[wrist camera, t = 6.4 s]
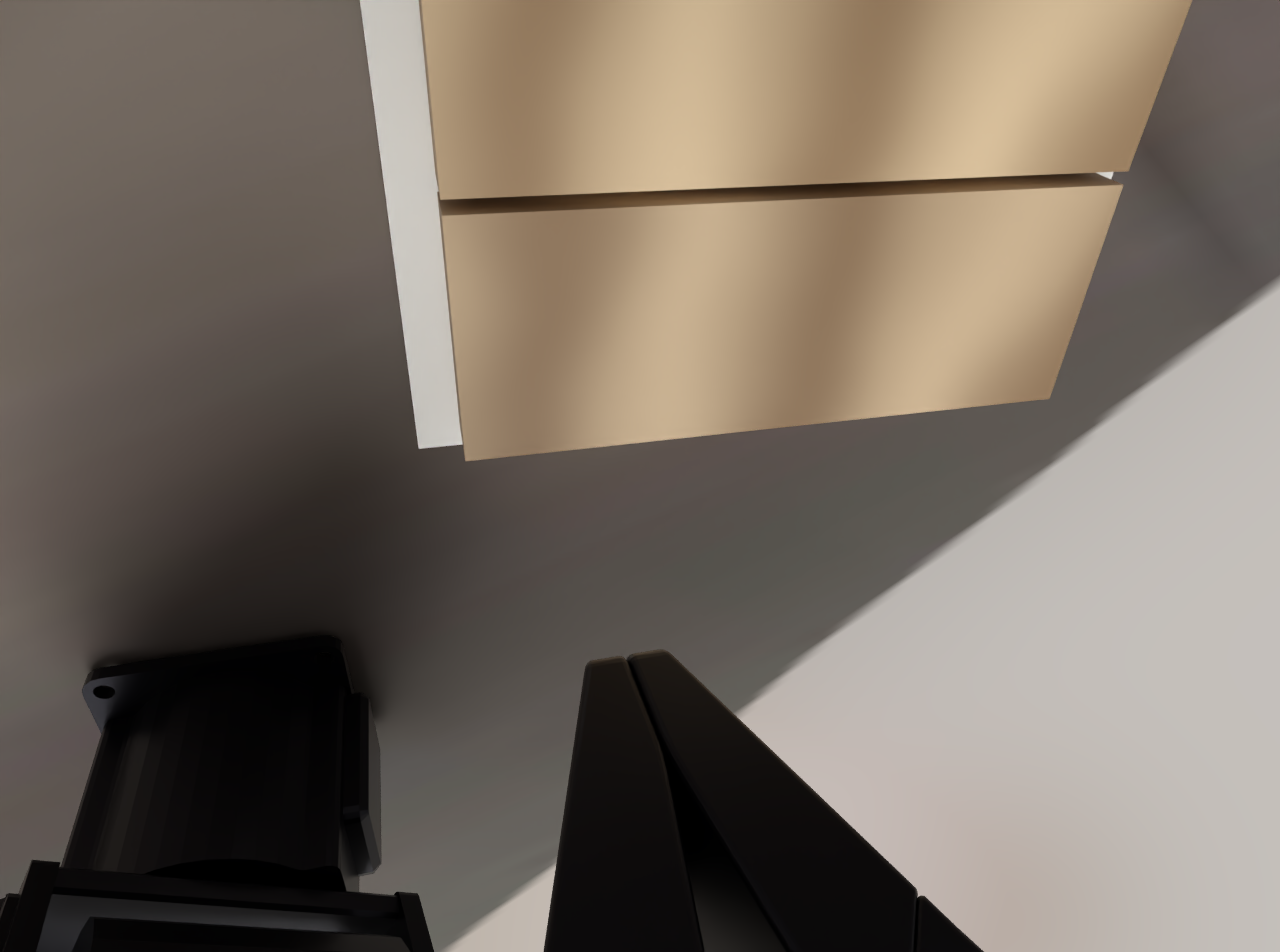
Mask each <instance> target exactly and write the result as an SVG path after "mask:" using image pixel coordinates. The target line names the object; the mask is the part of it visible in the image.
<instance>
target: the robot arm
mask: <svg viewBox="0 0 1280 952" xmlns="http://www.w3.org/2000/svg"><path fill="white" fill-rule="evenodd" d="M322 652H328V653H331V654H328V655H321V654H319V653H322ZM100 685H107V686H110V687H103V686H100ZM82 693H83V697H84V699H85V701H86V703H87V705H88V707H89V709H90V711H91V713H92V715H93V717H94V719H95V721H96V723H97V725H98V728H99V730H100V732H101V738H100V741H99V744H98V747H97V751H96V754H95V757H94V760H93V764H92V767H91V770H90V774H89V777H88V780H87V783H86V787H85V790H84V793H83V796H82V800H81V803H80V806H79V809H78V813H77V816H76V819H75V822H74V826H73V829H72V832H71V836H70V839H69V842H68V845H67V849H66V852H65V855H64V858H63V862H62V865H61V867H59V866H60V862H51V861H40V860H32V861H31V863H30V866H29V868H28V871H27V873H26V876H25V878H24V881H23V883H22V886H21V888H20V890H19V893H18V894H11V893H8V894H6V897H5V898H3V899H0V952H434V950H433V946H432V942H431V939H430V935H429V931H428V928H427V924H426V920H425V917H424V913H423V909H422V906H421V902H420V898H419V895H418V894H417V893H406V892H396V893H395V894H394V895H385V894H373V893H361V892H359V876H364V875H369V874H373V873H375V871H376V870H377V869H378V867H379V866H380V865H381V783H380V747H379V743H378V738H377V733H376V728H375V724H374V719H373V714H372V709H371V705H370V700H369V698H368V697H367V696H366V695H364V694H363V693H362V692H359V693H354V690H353V686H352V681H351V677H350V672H349V668H348V663H347V659H346V655H345V650H344V646H343V644H342V642H341V641H340V640H339V639H338V638H336V637H333V636H315V637H309V638H302V639H295V640H288V641H281V642H274V643H267V644H261V645H254V646H247V647H240V648H233V649H226V650H219V651H213V652H206V653H199V654H192V655H185V656H178V657H171V658H165V659H158V660H151V661H144V662H137V663H130V664H123V665H117V666H110V667H103V668H99V669H95V670H93V671H92V672H90V673H89V674H88V676H87V678H86V680H85V683H84V686H83V689H82ZM917 896H918V893H917V889H916V888H915V887H914V886H913V885H912V884H911V883H910V882H909V881H908V880H907V879H906V878H905V877H904V876H903V875H902V874H901V873H900V872H898V871H897V870H896V869H895V868H894V867H893V866H892V865H891V864H890V863H889V862H888V861H887V860H886V859H885V858H884V857H883V856H882V855H881V854H880V853H878V851H877V850H875V849H874V848H873V847H872V846H871V845H870V844H869V843H868V842H867V841H866V840H865V839H864V838H863V837H862V836H861V835H860V834H859V833H858V832H856V830H855V829H853V828H852V827H851V826H850V825H849V824H848V823H847V822H846V821H845V820H844V819H843V818H842V817H841V816H840V815H839V814H838V813H837V812H836V811H835V810H834V809H833V808H831V807H830V806H829V805H828V804H827V803H826V802H825V801H824V800H823V799H822V798H821V797H820V796H819V795H818V794H817V793H816V792H815V791H814V790H813V789H812V788H811V787H810V786H809V785H808V784H806V783H805V782H804V781H803V780H802V779H801V778H800V777H799V776H798V775H797V774H796V773H795V772H794V771H793V770H792V769H791V768H790V767H789V766H788V765H787V764H785V763H784V762H783V761H782V760H781V759H780V758H779V757H778V756H777V755H776V754H775V753H774V752H773V751H772V750H771V749H770V748H769V747H768V746H767V745H766V744H765V743H764V742H763V741H761V740H760V739H759V738H758V737H757V736H756V735H755V734H754V733H753V732H752V731H751V730H750V729H749V728H748V727H747V726H746V725H745V724H743V722H742V721H741V720H740V719H739V718H737V717H736V716H735V715H734V714H733V713H732V712H731V711H730V710H729V709H728V708H727V707H726V706H725V705H724V704H723V703H722V702H721V701H720V700H719V699H718V698H717V697H716V696H714V695H713V694H712V693H711V692H710V691H709V690H708V689H707V688H706V687H705V686H704V685H703V684H702V683H701V682H700V681H699V680H698V679H697V678H696V677H695V676H694V675H693V674H691V673H690V672H689V671H688V670H687V669H686V668H685V667H684V666H683V665H682V664H681V663H680V662H679V661H678V660H677V659H676V658H675V657H674V656H673V655H672V654H670V653H669V652H668V651H665V650H653V651H647V652H641V653H634V654H631V655H630V656H629V657H628V658H627V660H626V659H625V658H624V657H622V656H616V657H610V658H604V659H598V660H592V661H589V662H588V663H587V665H586V667H585V672H584V679H583V686H582V693H581V699H580V706H579V713H578V720H577V727H576V734H575V740H574V747H573V754H572V761H571V768H570V775H569V782H568V788H567V795H566V802H565V809H564V816H563V823H562V829H561V836H560V843H559V850H558V857H557V864H556V870H555V877H554V885H553V891H552V898H551V905H550V912H549V918H548V925H547V932H546V939H545V946H544V952H984V951H983V950H981V949H980V948H979V947H978V946H977V945H976V944H975V943H974V942H973V941H972V940H970V939H969V938H968V937H967V936H966V935H965V934H964V933H963V932H962V931H961V930H960V929H958V928H957V927H956V926H955V925H954V924H953V923H952V922H951V921H950V920H949V919H948V918H947V917H946V916H945V915H944V914H943V913H942V912H940V911H939V909H937V908H936V907H935V906H934V905H933V904H932V903H931V902H930V901H929V900H928V899H927V898H926V897H925V896H919V897H918V898H917Z"/></svg>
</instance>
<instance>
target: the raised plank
mask: <svg viewBox="0 0 1280 952" xmlns="http://www.w3.org/2000/svg"><path fill="white" fill-rule="evenodd" d="M1191 2H1192V0H419V10H420V20H421V30H422V41H423V51H424V62H425V72H426V82H427V93H428V103H429V114H430V124H431V134H432V145H433V155H434V166H435V175H436V180H437V185H438V190H439V195H440V200H446V199H470V198H494V197H519V196H543V195H567V194H591V193H615V192H639V191H663V190H687V189H711V188H735V187H759V186H783V185H807V184H832V183H856V182H880V181H904V180H928V179H952V178H976V177H1000V176H1024V175H1048V174H1072V173H1096V172H1120V171H1129V168H1130V165H1131V163H1132V160H1133V157H1134V155H1135V152H1136V149H1137V147H1138V144H1139V141H1140V139H1141V136H1142V133H1143V131H1144V128H1145V125H1146V123H1147V120H1148V117H1149V115H1150V112H1151V109H1152V107H1153V104H1154V101H1155V99H1156V96H1157V93H1158V90H1159V88H1160V85H1161V82H1162V80H1163V77H1164V74H1165V72H1166V69H1167V66H1168V64H1169V61H1170V58H1171V56H1172V53H1173V50H1174V48H1175V45H1176V42H1177V40H1178V37H1179V34H1180V32H1181V29H1182V26H1183V24H1184V21H1185V18H1186V16H1187V13H1188V10H1189V8H1190V5H1191Z"/></svg>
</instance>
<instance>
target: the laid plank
mask: <svg viewBox="0 0 1280 952" xmlns="http://www.w3.org/2000/svg"><path fill="white" fill-rule="evenodd" d="M1122 188H1123V184H1120V183H1118V182H1116V181H1114V180H1111V179H1109V178H1107V177H1104V176H1102V175H1100V174H1097V173H1072V174H1048V175H1024V176H1000V177H976V178H952V179H928V180H904V181H880V182H856V183H832V184H807V185H783V186H759V187H735V188H711V189H687V190H663V191H639V192H615V193H591V194H567V195H543V196H519V197H494V198H470V199H446V200H440V195H439V192H437V197H438V207H439V217H440V227H441V238H442V248H443V258H444V269H445V279H446V289H447V299H448V310H449V320H450V330H451V341H452V351H453V361H454V371H455V382H456V392H457V402H458V413H459V423H460V431H461V437H462V443H463V449H464V456H465V461H473V460H483V459H492V458H501V457H511V456H520V455H529V454H539V453H548V452H557V451H566V450H576V449H585V448H594V447H604V446H613V445H622V444H632V443H641V442H650V441H660V440H669V439H678V438H688V437H697V436H706V435H715V434H725V433H734V432H743V431H753V430H762V429H771V428H781V427H790V426H799V425H809V424H818V423H827V422H837V421H846V420H855V419H865V418H874V417H883V416H892V415H902V414H911V413H920V412H930V411H939V410H948V409H958V408H967V407H976V406H986V405H995V404H1004V403H1014V402H1023V401H1032V400H1041V399H1049V398H1050V396H1051V393H1052V390H1053V387H1054V384H1055V381H1056V378H1057V375H1058V372H1059V370H1060V367H1061V364H1062V361H1063V358H1064V355H1065V352H1066V349H1067V347H1068V344H1069V341H1070V338H1071V335H1072V332H1073V329H1074V326H1075V323H1076V321H1077V318H1078V315H1079V312H1080V309H1081V306H1082V303H1083V300H1084V297H1085V295H1086V292H1087V289H1088V286H1089V283H1090V280H1091V277H1092V274H1093V272H1094V269H1095V266H1096V263H1097V260H1098V257H1099V254H1100V251H1101V248H1102V246H1103V243H1104V240H1105V237H1106V234H1107V231H1108V228H1109V225H1110V222H1111V220H1112V217H1113V214H1114V211H1115V208H1116V205H1117V202H1118V199H1119V197H1120V194H1121V191H1122Z"/></svg>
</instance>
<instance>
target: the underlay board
mask: <svg viewBox="0 0 1280 952" xmlns="http://www.w3.org/2000/svg"><path fill="white" fill-rule="evenodd" d="M360 4H361V12H362V20H363V27H364V35H365V43H366V50H367V58H368V66H369V73H370V81H371V88H372V96H373V104H374V111H375V119H376V127H377V134H378V142H379V149H380V157H381V165H382V172H383V180H384V188H385V195H386V203H387V211H388V218H389V226H390V233H391V241H392V249H393V256H394V264H395V272H396V279H397V287H398V295H399V302H400V310H401V317H402V325H403V333H404V340H405V348H406V356H407V363H408V371H409V378H410V386H411V394H412V401H413V409H414V417H415V424H416V432H417V440H418V447H419V449H422V448H432V447H442V446H452V445H461V444H463V443H462V437H461V431H460V423H459V413H458V402H457V392H456V382H455V371H454V361H453V351H452V341H451V330H450V320H449V310H448V299H447V289H446V279H445V269H444V258H443V248H442V238H441V227H440V217H439V207H438V197H437V192H439V190H438V185H437V180H436V175H435V166H434V155H433V145H432V134H431V124H430V114H429V103H428V93H427V82H426V72H425V62H424V51H423V41H422V30H421V20H420V10H419V0H360ZM1096 173H1097V174H1100V175H1102V176H1104V177H1107V178H1109V179H1111V178H1112V175H1113V172H1096Z"/></svg>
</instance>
